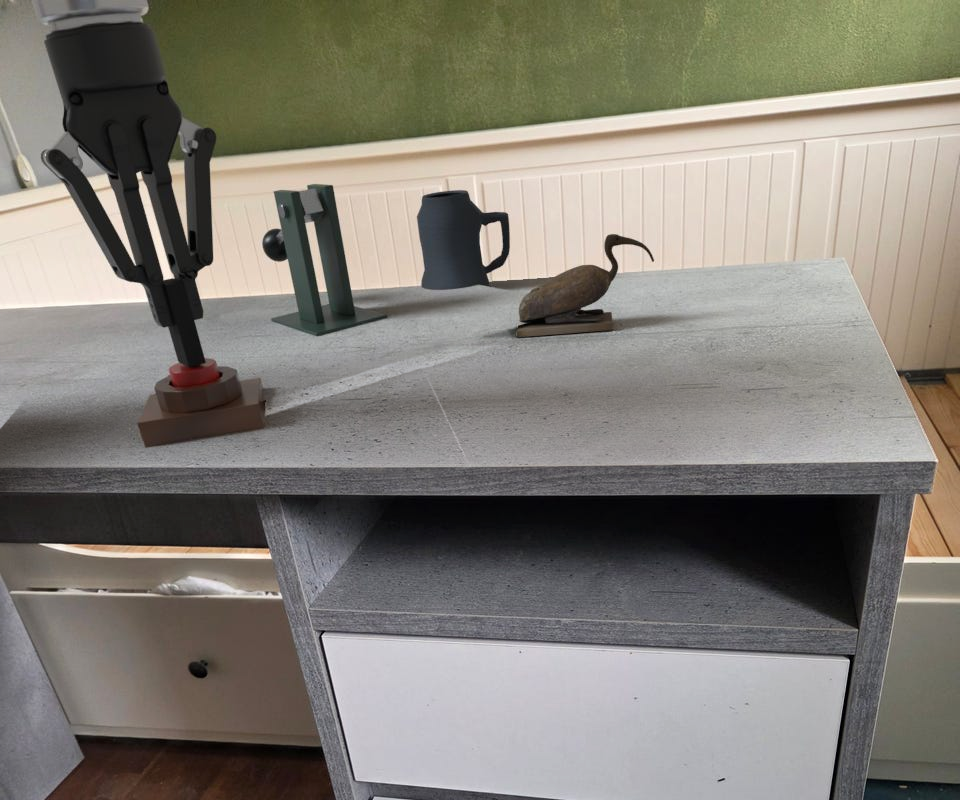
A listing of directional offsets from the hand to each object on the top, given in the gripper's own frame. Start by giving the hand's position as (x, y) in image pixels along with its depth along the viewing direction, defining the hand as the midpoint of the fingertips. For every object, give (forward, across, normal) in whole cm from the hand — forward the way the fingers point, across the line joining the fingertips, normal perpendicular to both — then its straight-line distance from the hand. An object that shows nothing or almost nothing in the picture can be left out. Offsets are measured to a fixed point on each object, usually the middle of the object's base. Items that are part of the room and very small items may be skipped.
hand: (192, 362), depth 74 cm
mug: (+6, -43, -22) cm, 49 cm away
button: (+2, 0, 0) cm, 2 cm away
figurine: (+6, -40, +5) cm, 40 cm away
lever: (-4, -23, -25) cm, 34 cm away
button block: (+5, 0, 0) cm, 5 cm away
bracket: (+5, -23, -20) cm, 31 cm away
